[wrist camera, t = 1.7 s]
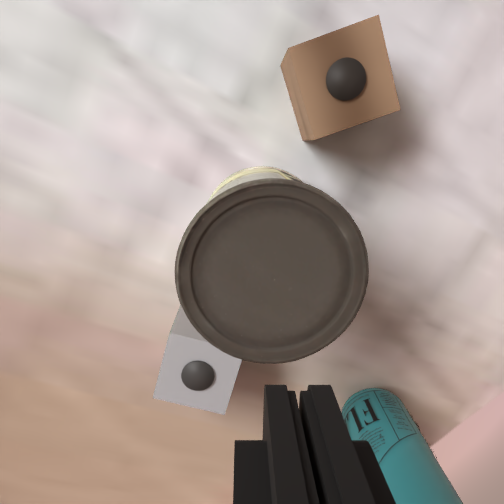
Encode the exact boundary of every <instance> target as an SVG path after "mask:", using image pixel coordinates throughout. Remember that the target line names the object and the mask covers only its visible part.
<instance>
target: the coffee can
mask: <svg viewBox="0 0 504 504" xmlns="http://www.w3.org/2000/svg"><path fill="white" fill-rule="evenodd" d="M368 274H369V268H368V256H367V250H366V247H365V243H364V240H363V237H362V235H361V232H360V230H359V228H358V227H357V225H356V223H355V222H354V220H353V219H352V217H351V216H350V215H349V213H348V212H347V211H346V210H345V209H344V208H343V207H342V206H341V205H340V204H339V203H338V202H337V201H336V200H334V199H333V198H332V197H330V196H329V195H328V194H326V193H324V192H323V191H321V190H319V189H317V188H315V187H313V186H310V185H308V184H305V183H303V182H302V181H301V180H299V179H298V178H297V177H295V176H294V175H292V174H290V173H288V172H286V171H284V170H281V169H278V168H274V167H252V168H248V169H244V170H241V171H239V172H237V173H234V174H232V175H231V176H229V177H228V178H226V179H225V180H224V181H223V182H222V183H221V184H220V185H219V186H218V187H217V188H216V189H215V191H214V192H213V193H212V195H211V197H210V199H209V201H208V202H207V204H206V205H205V206H204V207H203V208H202V209H201V210H200V211H199V212H198V213H197V214H196V215H195V217H194V218H193V219H192V221H191V222H190V224H189V226H188V227H187V229H186V231H185V233H184V235H183V237H182V240H181V242H180V245H179V248H178V251H177V256H176V261H175V284H176V290H177V294H178V298H179V301H180V304H181V306H182V308H183V310H184V312H185V314H186V316H187V318H188V320H189V321H190V323H191V324H192V325H193V327H194V328H195V329H196V330H197V332H198V333H199V334H201V335H202V337H203V338H204V339H206V340H207V341H208V342H209V343H210V344H211V345H213V346H214V347H216V348H217V349H219V350H220V351H222V352H224V353H226V354H228V355H230V356H233V357H235V358H238V359H242V360H246V361H250V362H256V363H271V364H275V363H285V362H291V361H296V360H299V359H302V358H305V357H307V356H309V355H312V354H314V353H316V352H318V351H320V350H321V349H323V348H324V347H326V346H327V345H329V344H330V343H332V342H333V341H334V340H335V339H337V338H338V337H339V336H340V335H341V334H342V333H343V332H344V331H345V330H346V329H347V327H348V326H349V325H350V324H351V322H352V321H353V319H354V318H355V316H356V314H357V312H358V311H359V309H360V306H361V304H362V301H363V298H364V295H365V293H366V287H367V283H368Z"/></svg>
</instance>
